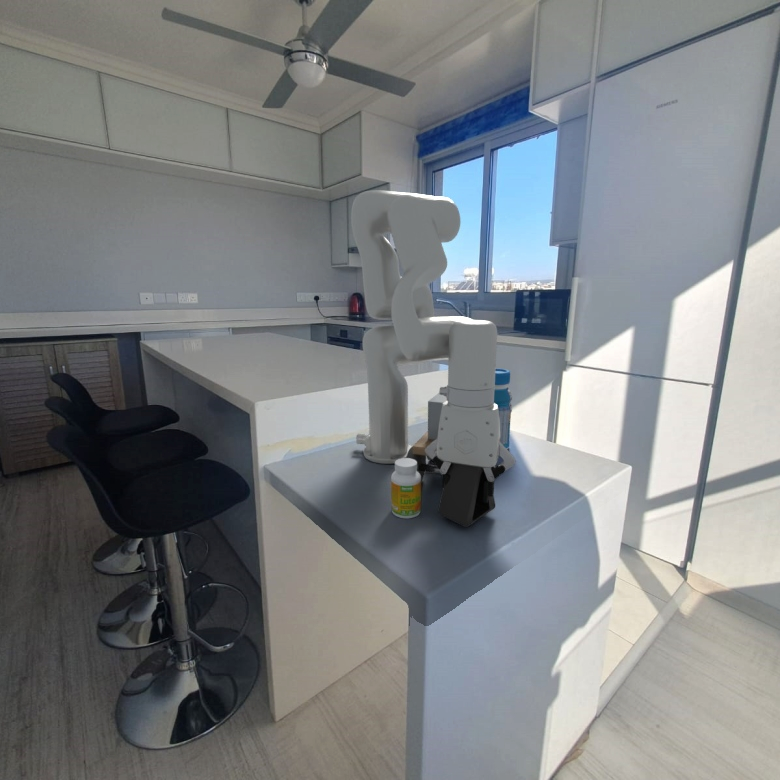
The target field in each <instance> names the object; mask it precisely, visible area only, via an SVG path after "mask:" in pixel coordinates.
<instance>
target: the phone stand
mask: <svg viewBox="0 0 780 780" xmlns="http://www.w3.org/2000/svg"><path fill="white" fill-rule="evenodd" d="M448 470H449V471H448V472H447V474H449V475H450V476H449V481H448V484H446V485H445V483H444V487H443V488H442V491H441V495H440V501H439V505H438V510H437V514H438V515H440V516H441V517H444V518H445V519H448V520H450V521H453V522H455V523H456V524H458V525H460V526H462V527H465V528H468V527H469V526H471V525H472V524H473V523H475V522H476V521H478V520H480V519H481V518H482V517H484V516H485V515H488V514H489V513H490V512H491V511H493V510H495V508H496V501H495V496H494V495H493V497H489V500H488V502H487V503H484V502H483V488H484V480H485V479H486V474H485V472H484V469H483V468H482V467H475V466H468V465H462V464H455V463H451V464H450V466H449V469H448Z"/></svg>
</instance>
